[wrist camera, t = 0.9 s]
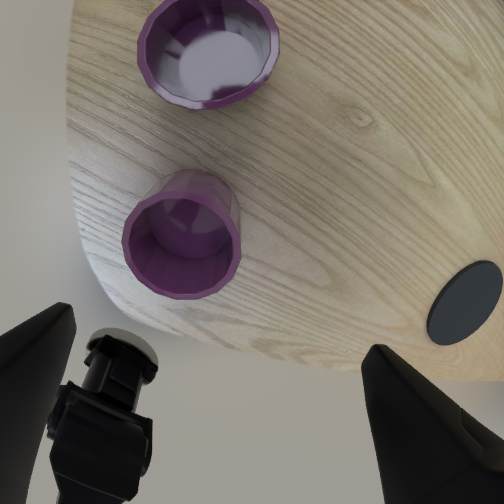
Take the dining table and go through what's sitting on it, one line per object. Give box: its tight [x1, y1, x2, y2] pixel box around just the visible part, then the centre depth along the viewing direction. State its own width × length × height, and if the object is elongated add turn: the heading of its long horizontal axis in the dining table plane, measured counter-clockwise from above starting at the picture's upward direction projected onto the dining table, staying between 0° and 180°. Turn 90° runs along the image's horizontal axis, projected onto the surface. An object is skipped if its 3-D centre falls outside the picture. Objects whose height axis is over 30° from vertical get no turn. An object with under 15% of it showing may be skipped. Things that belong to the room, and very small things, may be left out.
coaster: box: [427, 261, 503, 345], centre depth 23 cm, size 10×10×1 cm
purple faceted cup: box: [137, 0, 280, 110], centre depth 12 cm, size 6×6×4 cm
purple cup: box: [121, 170, 241, 300], centre depth 16 cm, size 6×6×4 cm
